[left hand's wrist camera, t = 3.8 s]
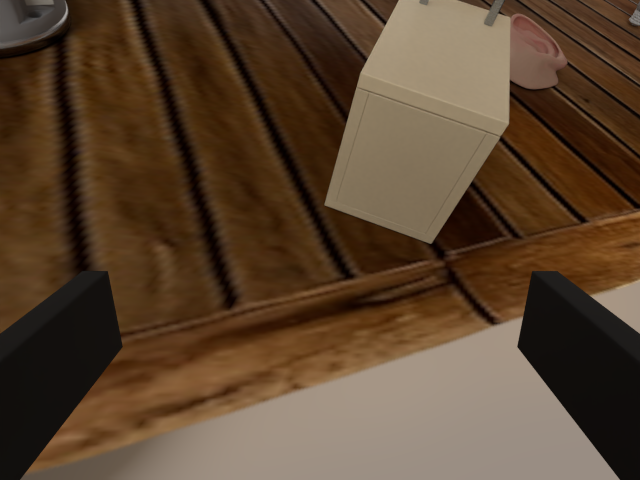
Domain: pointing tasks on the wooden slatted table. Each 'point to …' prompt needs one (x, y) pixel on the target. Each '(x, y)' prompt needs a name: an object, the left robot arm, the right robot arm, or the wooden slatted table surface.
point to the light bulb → (636, 16)
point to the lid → (445, 61)
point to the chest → (404, 165)
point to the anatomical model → (533, 55)
